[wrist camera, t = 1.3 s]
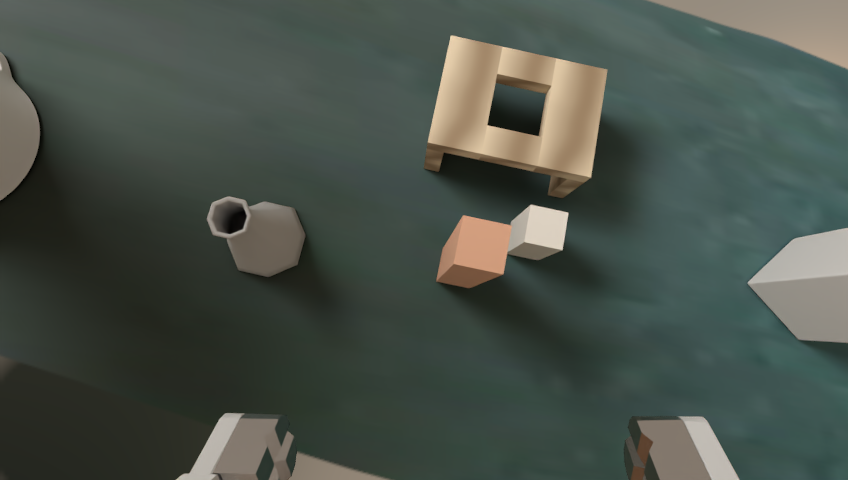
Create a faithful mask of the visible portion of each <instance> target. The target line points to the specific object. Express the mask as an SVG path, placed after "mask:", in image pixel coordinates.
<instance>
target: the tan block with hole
mask: <svg viewBox="0 0 848 480" xmlns="http://www.w3.org/2000/svg"><path fill="white" fill-rule="evenodd" d="M606 76H607V70H606V69H602V68H597V67H592V66H588V65H583V64H579V63H574V62H570V61H565V60H561V59H556V58H551V57H547V56H542V55H538V54H533V53H529V52H524V51H519V50H515V49H510V48H506V47H501V46H497V45H492V44H488V43H483V42H478V41H474V40H469V39H465V38H460V37H456V36H451V38H450V42H449V47H448V51H447V56H446V61H445V65H444V70H443V75H442V79H441V84H440V88H439V93H438V98H437V102H436V107H435V111H434V116H433V121H432V125H431V130H430V135H429V139H428V144H427V151H426V157H425V164H424V169H429V170H433V171H438V172H439V169H440V165H441V161H442V157H443V153H444V152H445V153H449V154H454V155H458V156H463V157H468V158H472V159H477V160H482V161H486V162H491V163H496V164H500V165H505V166H509V167H514V168H519V169H523V170H528V171H533V172H537V173H542V174H547V175H551V179H550V185H549V191H548V195H550V196H554V197H559V198H564V197H565V196H566V195H568V194H569V193H571V192H572V191H573V190H575V189H576V188H577V187H579V186H580V185H582V184H583V183H584V182H586V181H587V180H588V179H590V178H591V174H592V168H593V161H594V155H595V148H596V142H597V135H598V128H599V122H600V115H601V109H602V102H603V95H604V89H605V82H606ZM495 83H499V84H504V85H508V86H513V87H517V88H522V89H527V90H531V91H536V92H540V93H545V94H546V98H545V103H544V109H543V115H542V121H541V126H540V132H539V136H535V135H530V134H525V133H521V132H516V131H512V130H507V129H502V128H498V127H493V126H489V125H487V124H488V119H489V114H490V108H491V103H492V98H493V93H494V88H495Z"/></svg>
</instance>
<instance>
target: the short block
mask: <svg viewBox="0 0 848 480" xmlns="http://www.w3.org/2000/svg"><path fill="white" fill-rule="evenodd" d="M567 219H568V213H567V212H563V211H558V210H553V209H549V208H544V207H539V206H535V205H530V206H529V207H527V208H526V209H525V210H524V211H523V212H522V213H521V214H519V215H518V216H517V217H516V218H515V219H514V220H512V221H511V226H512V229H511V234H510V240H509V245H508V251H507V254H510V255H515V256H519V257H524V258H529V259H533V260H540V259H543V258H545V257H547V256H550V255H552V254H555V253H557V252H559V251H562V250H563V244H564V238H565V232H566V225H567Z"/></svg>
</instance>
